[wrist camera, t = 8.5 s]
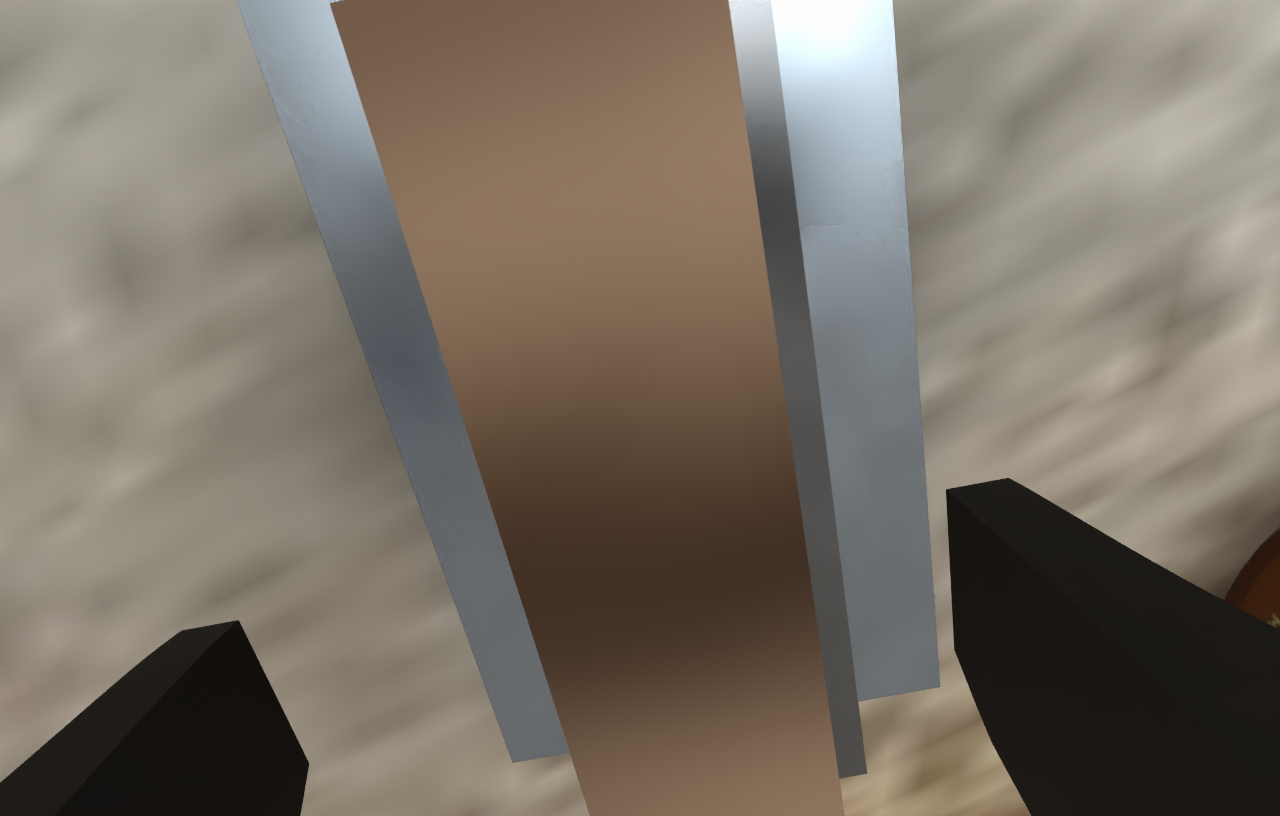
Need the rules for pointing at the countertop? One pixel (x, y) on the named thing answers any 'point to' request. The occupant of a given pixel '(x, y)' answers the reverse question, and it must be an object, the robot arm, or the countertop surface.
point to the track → (804, 323)
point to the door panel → (615, 377)
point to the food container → (1260, 583)
